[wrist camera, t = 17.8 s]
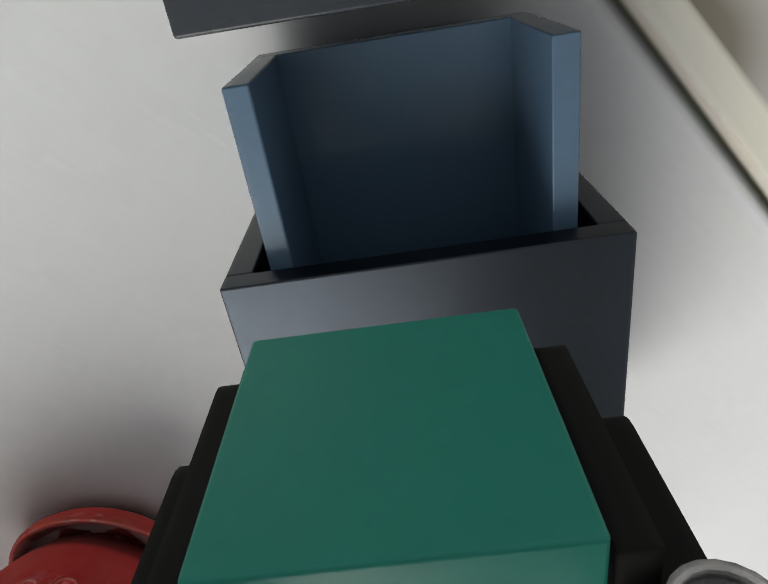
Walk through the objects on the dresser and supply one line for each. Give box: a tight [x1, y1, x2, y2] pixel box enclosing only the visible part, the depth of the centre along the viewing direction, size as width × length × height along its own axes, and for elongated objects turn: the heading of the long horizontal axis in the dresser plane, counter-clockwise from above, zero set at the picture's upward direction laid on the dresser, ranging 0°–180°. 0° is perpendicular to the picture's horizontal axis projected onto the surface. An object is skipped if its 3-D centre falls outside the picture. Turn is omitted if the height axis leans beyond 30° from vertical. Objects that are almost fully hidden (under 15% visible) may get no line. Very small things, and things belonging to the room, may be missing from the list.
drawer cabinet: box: [220, 172, 637, 418], centre depth 25 cm, size 15×13×9 cm
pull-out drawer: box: [163, 0, 581, 271], centre depth 19 cm, size 20×12×7 cm, turn 8°
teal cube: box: [178, 308, 611, 584], centre depth 9 cm, size 4×4×4 cm
